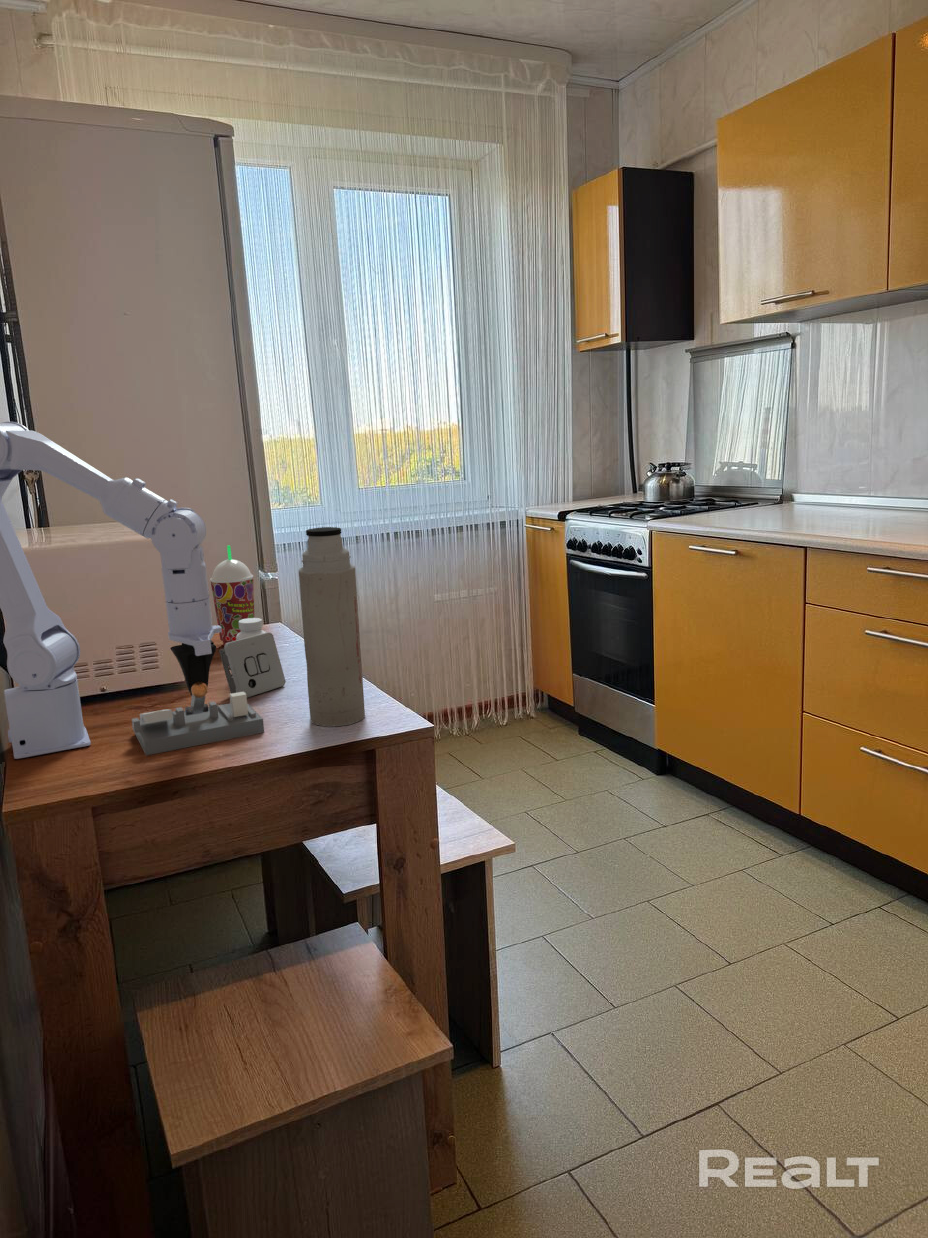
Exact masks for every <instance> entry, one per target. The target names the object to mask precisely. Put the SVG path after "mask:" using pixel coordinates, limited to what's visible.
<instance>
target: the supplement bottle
mask: <svg viewBox="0 0 928 1238" xmlns="http://www.w3.org/2000/svg"><path fill="white" fill-rule="evenodd" d="M263 624H264V623H263V619H262V618H259V617H255V618H247V619H242V620H240V621H239V629H240V630H241V632H240V633H238V634H237V636H236V640H240V639H244V638H248V637H252V636H256V635H259V634H263V633H267V631H265V630H263V629H262V628H263V626H264V625H263Z"/></svg>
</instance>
